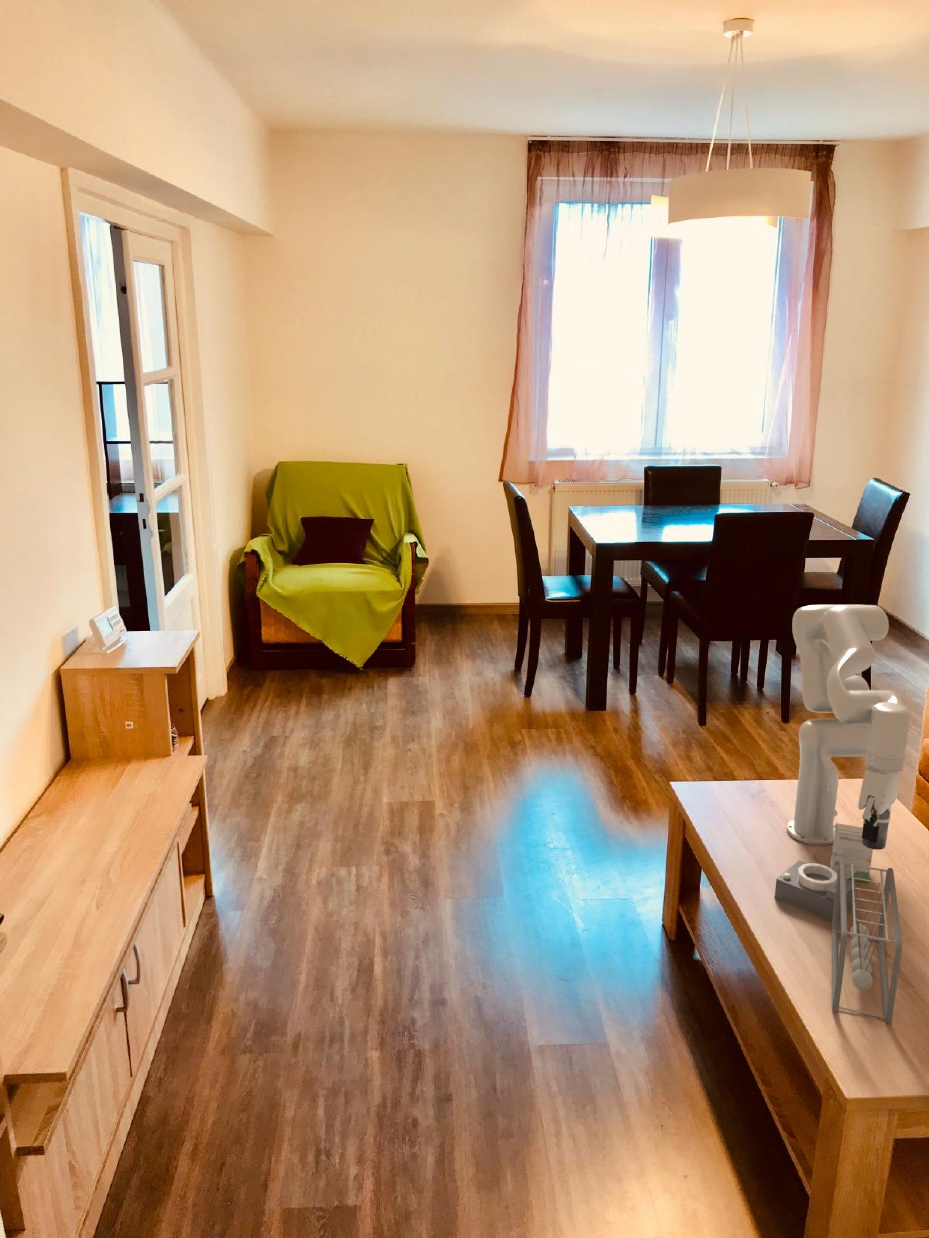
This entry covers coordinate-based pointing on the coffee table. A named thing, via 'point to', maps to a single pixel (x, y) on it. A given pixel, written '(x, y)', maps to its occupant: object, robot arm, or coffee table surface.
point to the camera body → (811, 889)
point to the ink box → (851, 851)
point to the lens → (882, 834)
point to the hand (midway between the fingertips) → (874, 834)
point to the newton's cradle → (865, 941)
